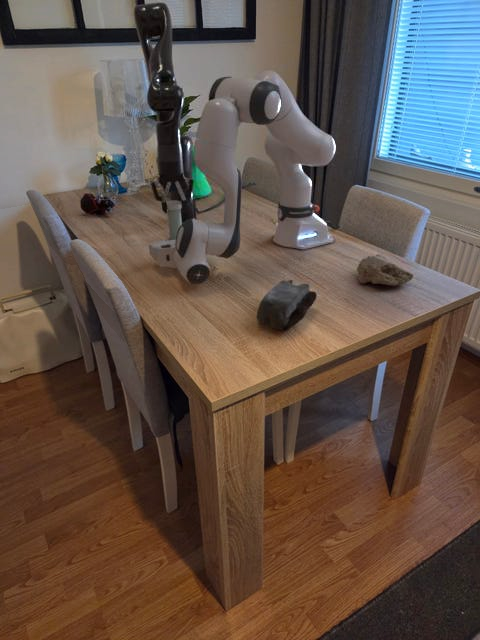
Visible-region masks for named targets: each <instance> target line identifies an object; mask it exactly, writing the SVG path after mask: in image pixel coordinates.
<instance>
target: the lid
mask: <svg viewBox="0 0 480 640" xmlns="http://www.w3.org/2000/svg"><path fill="white" fill-rule="evenodd" d="M166 203H167V211H168V210H180V209H181V208H182V203H181V202H180V201H171V200H169V201H166Z"/></svg>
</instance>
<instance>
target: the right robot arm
mask: <svg viewBox="0 0 480 640" xmlns="http://www.w3.org/2000/svg"><path fill="white" fill-rule="evenodd" d="M208 93H209V94H208V101H206V103H205V105H204V107H203V110H202V113H201V115H200V118H199V122H198V125H197V129H196V134H195V140H194V143H193V145H194V161H195V164H196V166H197V168H198V169H199V170H200V171H201V172H202V173H203V174H204V175H205V177H206V178H208V179H209V180H211V181H213V182H214V183H215V184H217V185H218V186H219V187H220V188H221V189H222V191H223V193H224V199H225V201H224V208H223V209H224V213H223V221H222V223H219V222H213V221H206V220H202V219H196V220H195V219H188V220H186V221H185V222H184V223H183V224H182V225H181V226H180V227H179V229H178V232H177V235H176V240H171V239H170V237H165V240H161V241H152V242H149V244H148V250H149V254H150V257H151V258H152V259H153V260H154V261H155V262H157V263H158V266H159V268H175V269H177V270H178V272H179V273H180V275H181V276H182V278H183V279H184V280H185V281H186V282H187V283H189V284H192V285H199V284H203V283H204V282H206V281H207V280H208V279H209V278H210V276H211V267H210V264H209V262H208V260H207V258H206V255H208V256H215V257H218V258H223V259H229V258H232V256H234V255H235V254H237V252H238V251H239V249H240V246H241V208H242V207H241V206H242V189H243V188H242V186H243V185H242V183H243V182H242V180H243V179H242V174H241V173H242V172H241V170H239V168H237V165H236V160H235V159H236V158H235V153H236V152H235V151H236V146H237V139H238V134H239V133H238V131H239V127H240V125H241V123H246V124H256V125H258V126H266V128H267V130H268V132H267V133H266V135H265V138H264V146H263V147H264V151H265V154H266V156H267V157H268V158H269V159H270V160H271V161H272V163H273V164H274V166H275V168H276V172H277V175H278V180H279V201H278V205H277V222H276V230H275V233H274V236H273V238H272V240H273V242H274V243H275V244H277V245H278V246H281V247H285V248H294V249H298V250H308V249H311V248H315V247H320V246H323V245H328V244H331V243H334V237H333V235H332V234H330V232H329V228H328V225H330V228H331V229H333V230H336V229H338V228H340V225H337V226H334V225H333V223H332V222H331V221H329V220H326V219H323V218H321V217H319V216H318V214H316V213H315V212H317V213H318V212H319V211H320V209H321V208H320V206H319V205H317V204H314V203H312V202H311V200H312V190H313V189H312V187H313V183H312V180H311V178H310V177H309V176H308V175H307V174H306V173H305V172H304V170H303V168H302V166H307V167H325V166H327V165H328V164H329V163H331V161H332V160H333V158H334V157H335V153H336V143H335V140H334V138H333V136H332V135H331V134H328V133H327V132H325V131H323V130H322V129H320V128H319V127H318V126H316V124H314V123H313V122H312V121H311V120H310V119H309V118H307V116H306V115H304V113H303V112H302V110H301V109H300V107H299V105H298V103H297V101H296V99H295V97H294V95H293V93H292V91H291V90H290V88H289V86H288V85H287V84H286V82H285V81H284V80H283V78H282V77H281V75H280V74H278V72H276V71H274V70H264V71H261V72H259V73H258V74H257V75H255V77H254V78H253V77H252V78H251V77H232V76H223V77H219V78H217V79H216V80H215V81H213V84H212V85H211V87H210V90H209V92H208ZM327 224H328V225H327Z"/></svg>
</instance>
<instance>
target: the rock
mask: <svg viewBox="0 0 480 640" xmlns="http://www.w3.org/2000/svg"><path fill="white" fill-rule="evenodd" d="M316 300H317V293H316V291H313V290H312V291H311V290H310V284H308V283H301V284H298V285H297V284H293V279H290V280H286V279H282V280H281V281H280V282H278V283H277V284H275V285H274V286H273V287H272V288H271V289H269V290H268V291H267V293H266V294H265V295H264V296H263V298H262V299H261V301H260V303H259V306H258V308H257V312H256V319H257V321H258V322H259V323H261V324H267V323H269V325H271V327H272V328H274V329H276V330H282V331H283V332H287V330H289V329H290V328H292V327H294V326H295V325H296V324H298V323H299V322H301V321H302V320H303V319H304V317H305V316H306V314H307V311H308V310H309V309H310V308H311V307H312V306H313V305H314V303H315V301H316Z"/></svg>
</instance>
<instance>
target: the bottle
mask: <svg viewBox="0 0 480 640" xmlns="http://www.w3.org/2000/svg"><path fill="white" fill-rule="evenodd" d="M167 217H168V218H167V219H168V220H167V221H168V230H169V238H170V239H171V240H176V235H177V232H178V229H179V227H180V226H181V225H182V221H181V209H180V210H167Z"/></svg>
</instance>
